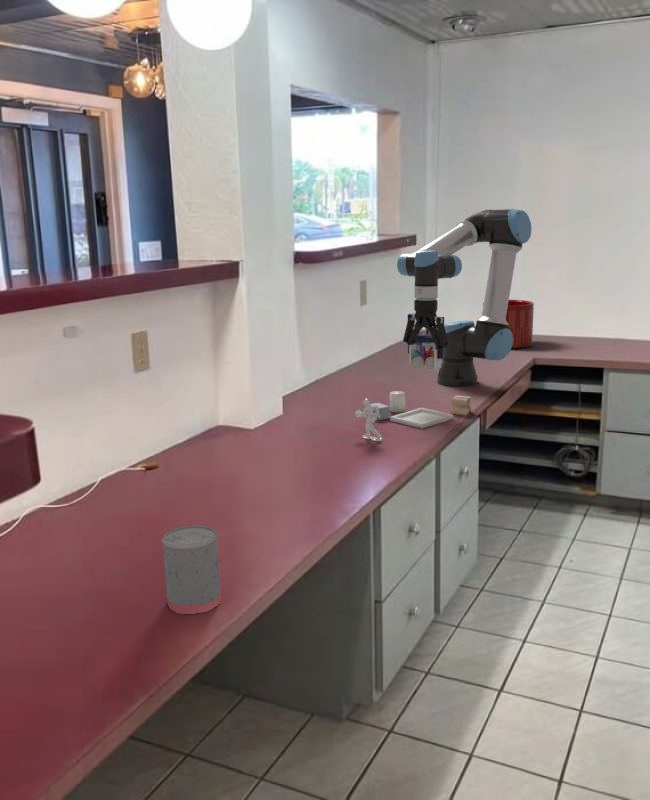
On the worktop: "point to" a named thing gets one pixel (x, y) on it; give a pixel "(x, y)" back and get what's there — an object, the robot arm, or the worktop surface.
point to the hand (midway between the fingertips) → (425, 365)
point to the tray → (421, 418)
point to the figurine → (370, 420)
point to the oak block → (460, 405)
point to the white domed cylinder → (397, 401)
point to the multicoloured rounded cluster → (423, 358)
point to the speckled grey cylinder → (191, 565)
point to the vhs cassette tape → (425, 343)
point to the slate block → (381, 410)
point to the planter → (520, 322)
